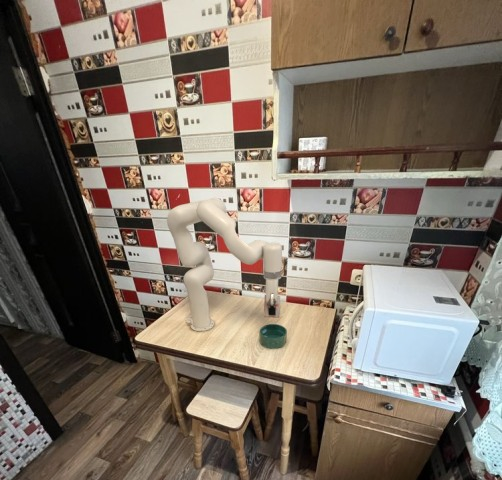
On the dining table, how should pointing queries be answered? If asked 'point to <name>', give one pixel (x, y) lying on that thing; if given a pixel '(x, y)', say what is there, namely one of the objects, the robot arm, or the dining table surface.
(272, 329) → the teal faceted bowl
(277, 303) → the white juice carton
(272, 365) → the dining table surface
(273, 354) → the dining table surface
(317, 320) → the dining table surface
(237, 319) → the dining table surface
